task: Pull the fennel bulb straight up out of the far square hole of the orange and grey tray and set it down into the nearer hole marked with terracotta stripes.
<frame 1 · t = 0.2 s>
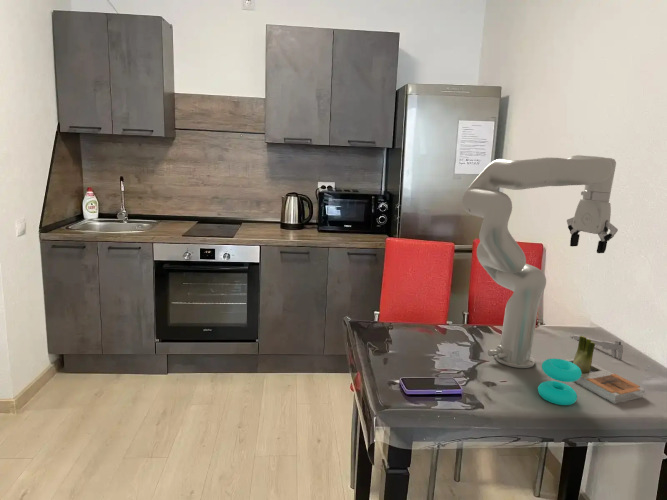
hand: (586, 249, 163), 36 cm above the table, tool pointing down, fingers open, 9 cm apart
donuts: (556, 398, 140), on the table
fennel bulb: (579, 374, 155), resting in orange and grey tray
orange and grey tray: (595, 382, 150), on the table
caliper: (594, 348, 177), on the table
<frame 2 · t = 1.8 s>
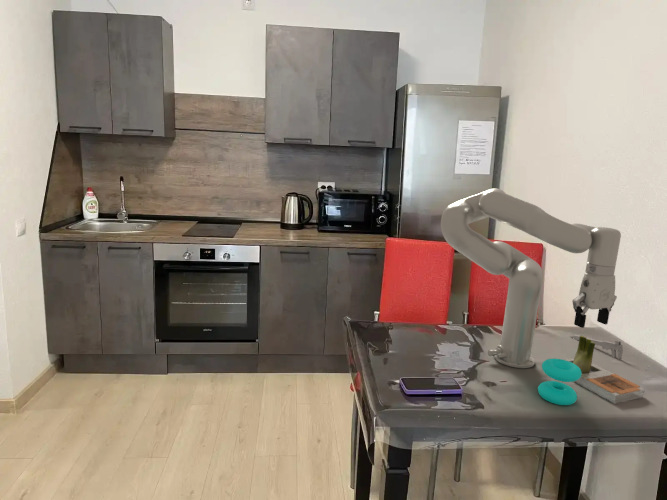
hand: (590, 324, 152), 16 cm above the table, tool pointing down, fingers open, 9 cm apart
nothing on the table moved.
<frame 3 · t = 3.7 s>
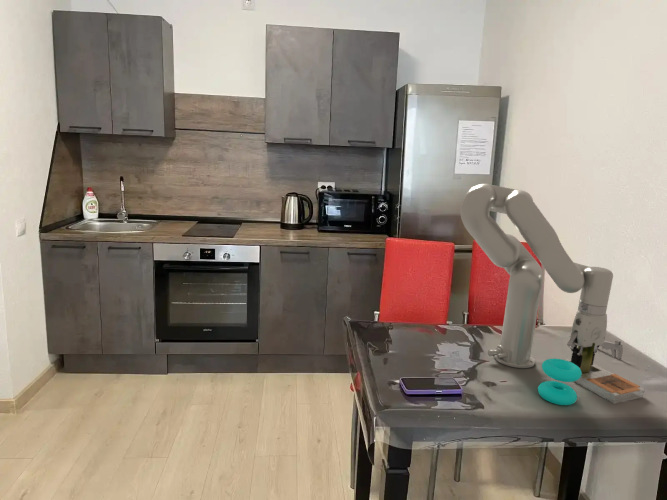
hand: (581, 363, 155), 3 cm above the table, tool pointing down, fingers closed on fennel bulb, 4 cm apart
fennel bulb: (579, 374, 155), resting in orange and grey tray, touching gripper
everything else where it was.
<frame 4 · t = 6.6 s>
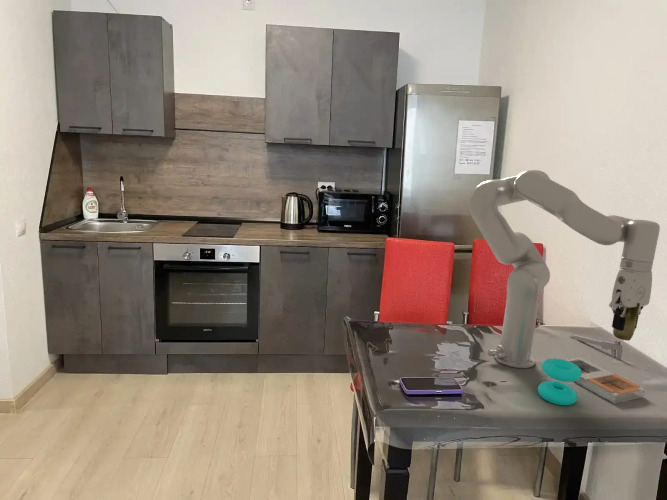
hand: (623, 327, 142), 20 cm above the table, tool pointing down, fingers closed on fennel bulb, 4 cm apart
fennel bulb: (621, 339, 142), point 16 cm above the table, touching gripper
everything else where it was.
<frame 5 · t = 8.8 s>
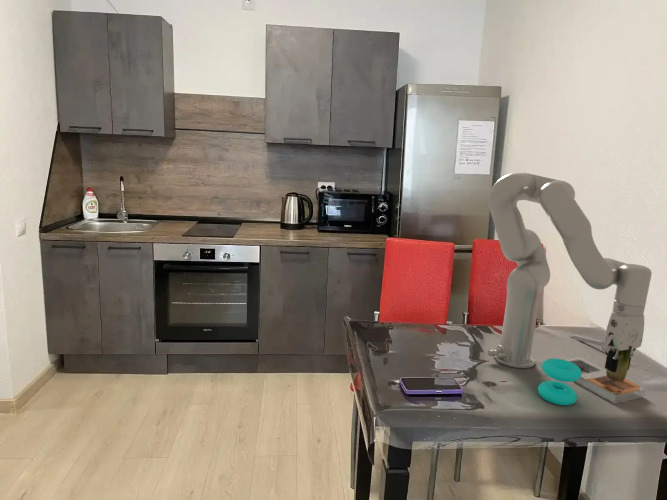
hand: (616, 368, 144), 7 cm above the table, tool pointing down, fingers closed on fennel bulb, 4 cm apart
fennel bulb: (614, 380, 145), point 4 cm above the table, touching gripper
everything else where it was.
when the fingers open (5 cm above the table, at t = 9.7 s): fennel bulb drops 1 cm, resting on orange and grey tray.
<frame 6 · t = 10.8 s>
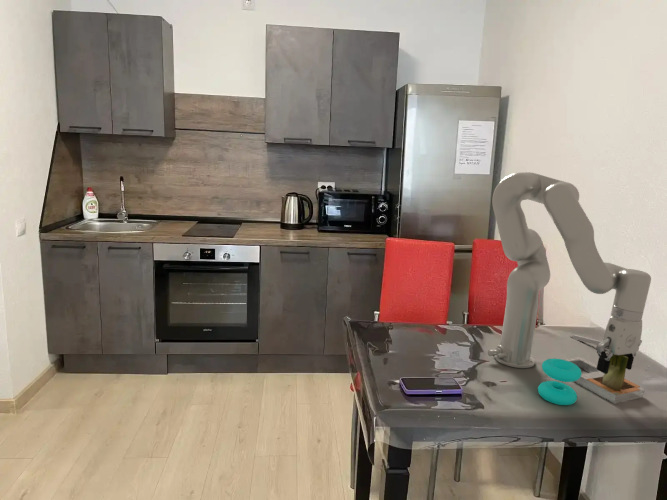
hand: (613, 369, 144), 7 cm above the table, tool pointing down, fingers open, 9 cm apart
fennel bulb: (610, 390, 146), resting on orange and grey tray
everything else where it was.
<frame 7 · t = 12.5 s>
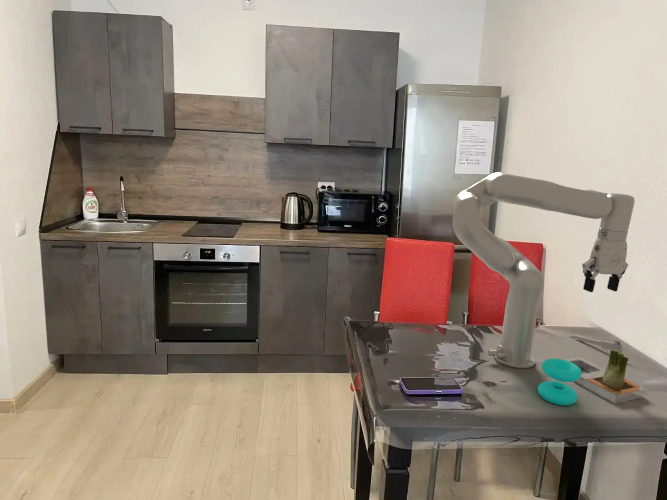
hand: (600, 290, 153), 26 cm above the table, tool pointing down, fingers open, 9 cm apart
nothing on the table moved.
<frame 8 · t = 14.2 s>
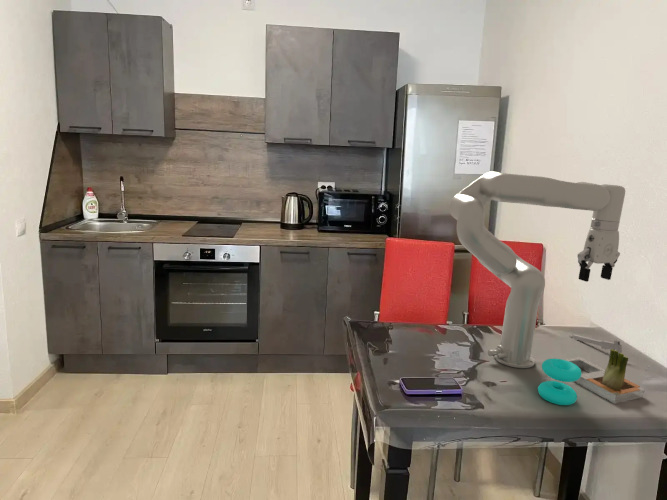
hand: (594, 279, 157), 28 cm above the table, tool pointing down, fingers open, 9 cm apart
nothing on the table moved.
at the end: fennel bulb 0.2 cm from the target spot on the orange and grey tray, point 0.0 cm above the orange and grey tray's base; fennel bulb tilted 0°; the gripper is holding nothing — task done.
